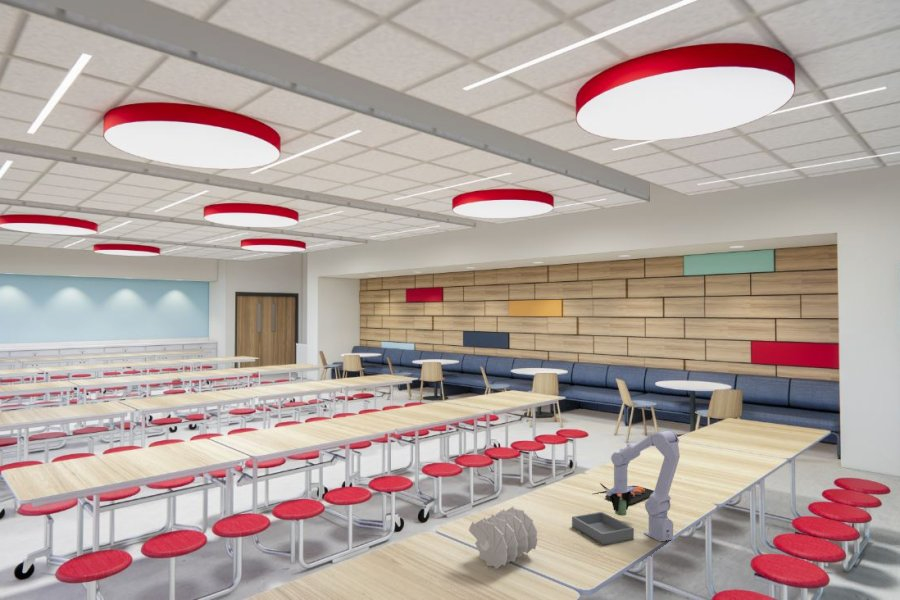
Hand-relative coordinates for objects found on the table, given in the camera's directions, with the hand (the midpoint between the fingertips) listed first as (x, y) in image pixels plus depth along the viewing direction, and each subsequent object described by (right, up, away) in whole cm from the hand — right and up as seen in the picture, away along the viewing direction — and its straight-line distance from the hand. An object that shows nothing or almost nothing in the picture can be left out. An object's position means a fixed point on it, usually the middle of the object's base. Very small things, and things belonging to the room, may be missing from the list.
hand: (620, 509), depth 239 cm
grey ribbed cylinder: (-55, -4, -38) cm, 67 cm away
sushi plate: (+11, -7, +40) cm, 42 cm away
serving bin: (-12, -5, -13) cm, 18 cm away
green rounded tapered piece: (0, -2, 0) cm, 2 cm away
